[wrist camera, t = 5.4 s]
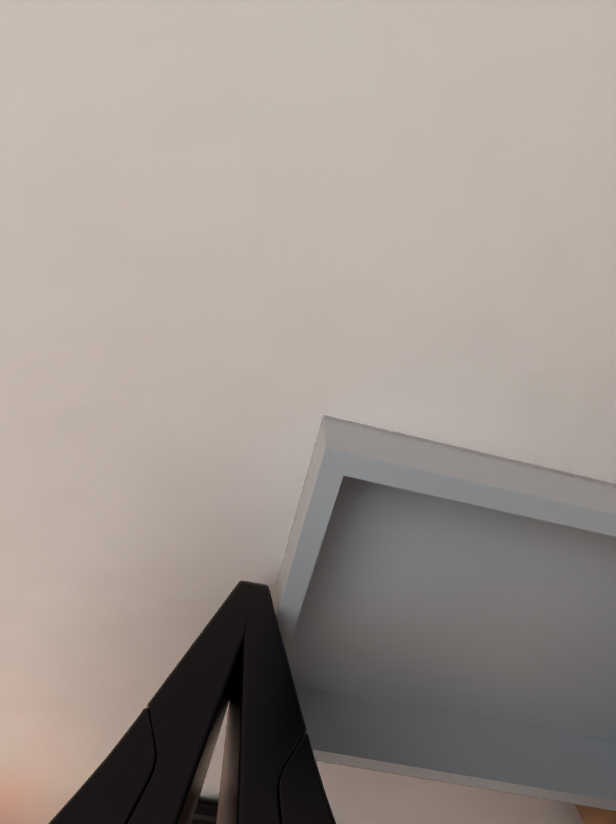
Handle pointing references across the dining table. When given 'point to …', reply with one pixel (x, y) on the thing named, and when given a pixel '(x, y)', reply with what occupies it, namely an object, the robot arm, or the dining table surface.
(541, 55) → the dining table surface
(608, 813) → the bridge
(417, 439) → the grey open tray
